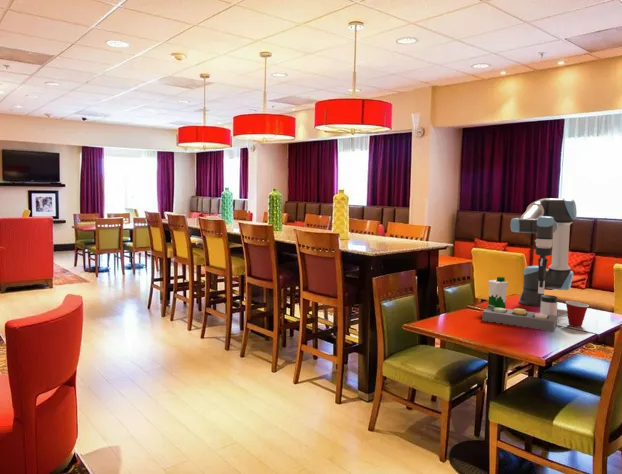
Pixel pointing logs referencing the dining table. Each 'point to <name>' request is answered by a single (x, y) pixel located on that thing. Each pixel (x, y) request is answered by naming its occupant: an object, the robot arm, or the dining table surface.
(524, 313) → the mustard button
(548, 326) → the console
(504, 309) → the sage button
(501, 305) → the milk carton
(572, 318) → the plastic cup
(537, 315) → the cream button
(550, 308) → the jar
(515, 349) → the dining table surface
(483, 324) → the dining table surface
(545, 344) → the dining table surface
